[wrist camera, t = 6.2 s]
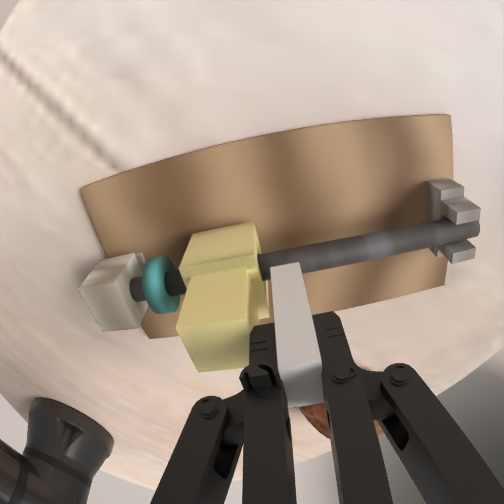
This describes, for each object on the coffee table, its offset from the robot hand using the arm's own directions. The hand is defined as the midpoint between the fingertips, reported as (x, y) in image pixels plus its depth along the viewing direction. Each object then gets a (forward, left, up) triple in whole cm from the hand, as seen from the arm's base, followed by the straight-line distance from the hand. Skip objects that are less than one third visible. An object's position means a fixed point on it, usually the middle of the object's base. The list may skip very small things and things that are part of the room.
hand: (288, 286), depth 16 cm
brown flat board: (0, 0, -6) cm, 6 cm away
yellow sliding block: (-3, 0, -4) cm, 6 cm away
